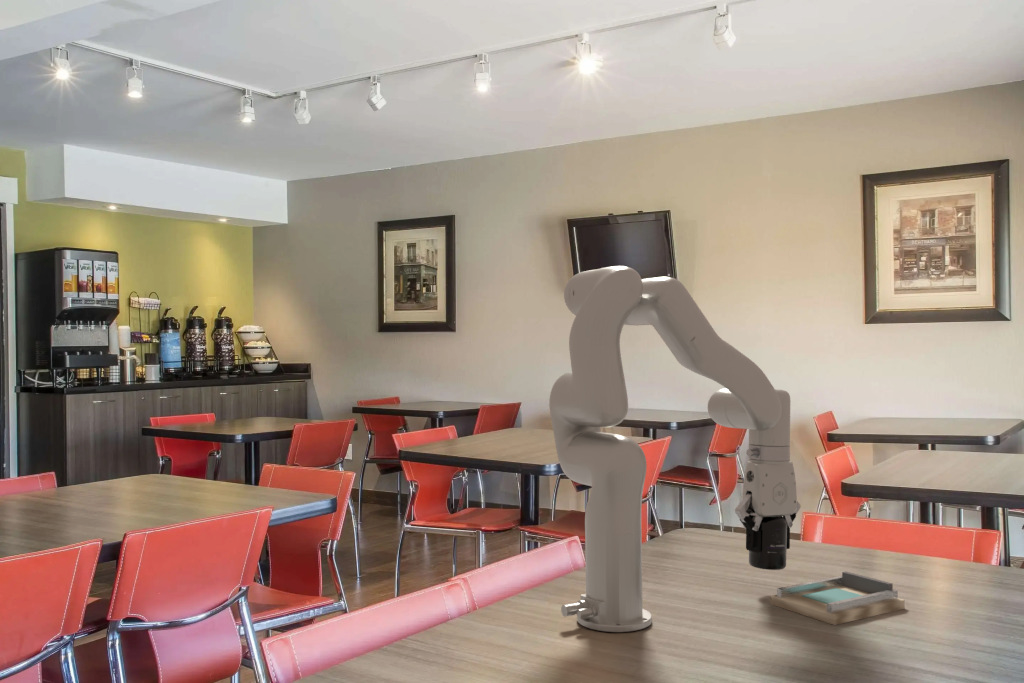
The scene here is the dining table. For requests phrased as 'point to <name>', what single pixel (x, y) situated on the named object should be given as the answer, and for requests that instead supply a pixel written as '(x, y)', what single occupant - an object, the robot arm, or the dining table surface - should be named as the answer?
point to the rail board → (840, 598)
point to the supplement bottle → (771, 544)
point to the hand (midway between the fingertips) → (767, 548)
